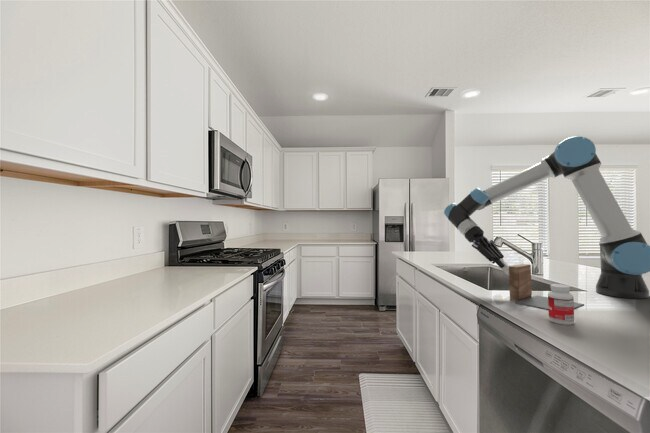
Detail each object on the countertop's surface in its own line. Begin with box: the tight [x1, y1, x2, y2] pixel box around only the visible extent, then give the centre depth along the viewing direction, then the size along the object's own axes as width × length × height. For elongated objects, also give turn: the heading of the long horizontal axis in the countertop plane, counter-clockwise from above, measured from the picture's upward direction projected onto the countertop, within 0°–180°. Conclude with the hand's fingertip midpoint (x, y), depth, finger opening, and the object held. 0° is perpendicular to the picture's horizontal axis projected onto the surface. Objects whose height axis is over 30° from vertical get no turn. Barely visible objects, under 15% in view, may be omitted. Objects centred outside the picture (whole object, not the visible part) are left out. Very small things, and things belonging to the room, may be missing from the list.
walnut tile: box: [508, 263, 533, 302], centre depth 117 cm, size 3×10×13 cm, turn 120°
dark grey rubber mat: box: [514, 295, 585, 311], centre depth 109 cm, size 15×16×1 cm
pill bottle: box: [547, 283, 575, 326], centre depth 91 cm, size 6×6×11 cm
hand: (510, 273), depth 120 cm, fingers closed
